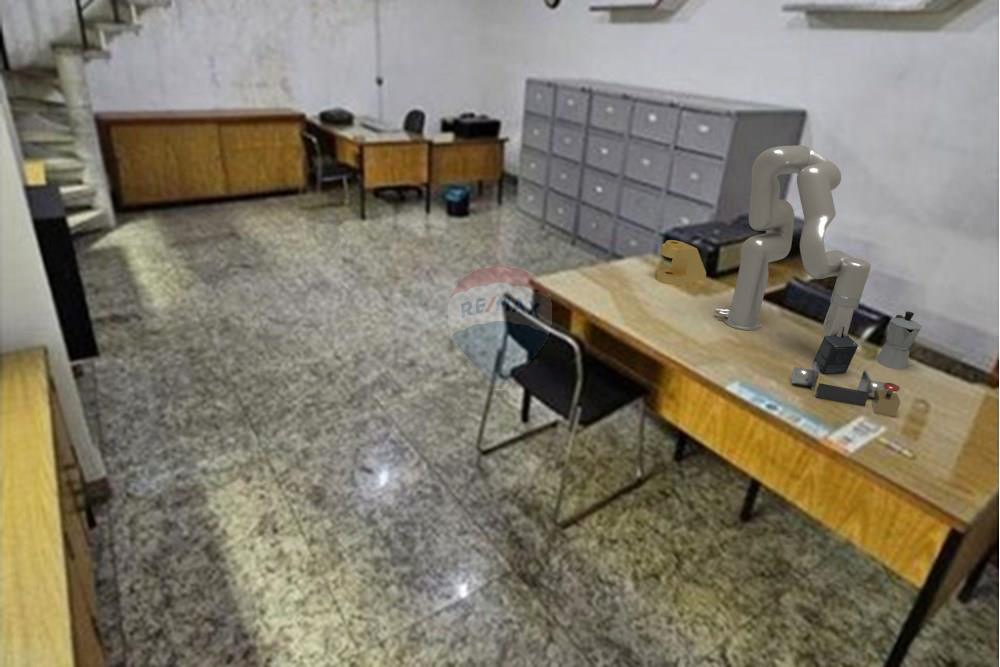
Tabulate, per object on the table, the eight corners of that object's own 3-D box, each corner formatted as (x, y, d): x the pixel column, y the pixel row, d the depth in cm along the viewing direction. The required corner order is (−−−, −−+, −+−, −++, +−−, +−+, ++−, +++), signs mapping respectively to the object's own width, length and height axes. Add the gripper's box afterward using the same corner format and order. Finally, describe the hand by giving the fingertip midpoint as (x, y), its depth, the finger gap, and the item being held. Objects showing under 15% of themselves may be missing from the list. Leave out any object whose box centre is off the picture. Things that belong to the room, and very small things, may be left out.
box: (834, 363, 195) (847, 334, 189) (845, 374, 191) (859, 345, 185) (811, 363, 194) (824, 335, 188) (822, 375, 189) (835, 346, 184)
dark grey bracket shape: (794, 393, 178) (800, 373, 175) (789, 377, 187) (795, 358, 184) (887, 411, 172) (894, 390, 170) (878, 393, 181) (885, 373, 178)
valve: (873, 413, 171) (883, 388, 167) (870, 404, 175) (880, 379, 172) (894, 418, 169) (904, 392, 166) (891, 409, 174) (900, 383, 170)
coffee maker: (911, 377, 192) (932, 323, 184) (879, 371, 194) (899, 317, 186) (899, 356, 205) (918, 304, 197) (869, 351, 207) (887, 300, 199)
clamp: (665, 286, 250) (673, 247, 243) (651, 278, 258) (657, 240, 251) (704, 280, 259) (712, 243, 252) (689, 273, 266) (696, 236, 259)
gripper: (827, 289, 196) (811, 342, 204) (836, 306, 183) (818, 363, 190) (853, 293, 194) (836, 346, 202) (864, 311, 181) (845, 367, 189)
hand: (827, 354), depth 196 cm, fingers closed
